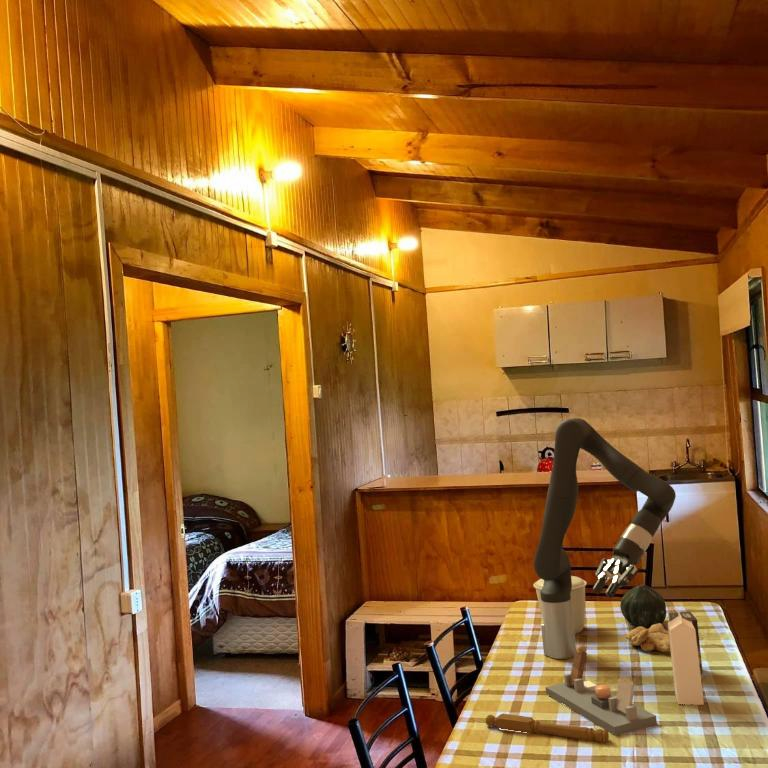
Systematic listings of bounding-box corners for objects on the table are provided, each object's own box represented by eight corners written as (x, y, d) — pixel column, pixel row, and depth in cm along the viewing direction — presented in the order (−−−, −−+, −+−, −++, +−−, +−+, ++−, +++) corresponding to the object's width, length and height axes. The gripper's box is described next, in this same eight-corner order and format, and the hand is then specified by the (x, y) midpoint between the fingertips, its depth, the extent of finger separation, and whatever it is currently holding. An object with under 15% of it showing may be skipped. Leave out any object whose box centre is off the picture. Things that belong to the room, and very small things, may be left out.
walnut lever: (575, 684, 199) (583, 644, 200) (582, 687, 196) (589, 647, 197) (567, 682, 198) (575, 642, 199) (573, 686, 195) (581, 645, 197)
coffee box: (704, 679, 199) (697, 619, 200) (679, 680, 201) (673, 620, 201) (697, 667, 208) (690, 610, 209) (673, 668, 210) (667, 611, 210)
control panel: (583, 685, 203) (581, 666, 204) (656, 724, 175) (654, 702, 175) (546, 694, 199) (544, 675, 199) (615, 735, 171) (612, 714, 171)
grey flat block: (618, 707, 180) (621, 678, 181) (631, 714, 175) (634, 684, 176) (615, 707, 180) (618, 678, 181) (628, 714, 175) (631, 684, 176)
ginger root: (625, 634, 239) (629, 611, 239) (677, 648, 232) (681, 624, 232) (618, 651, 225) (622, 626, 225) (673, 667, 218) (677, 641, 218)
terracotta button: (605, 691, 187) (604, 683, 187) (613, 696, 183) (612, 688, 184) (593, 694, 186) (592, 686, 186) (601, 699, 182) (600, 691, 182)
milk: (678, 705, 185) (668, 617, 186) (675, 695, 191) (665, 610, 192) (704, 705, 183) (693, 616, 184) (700, 695, 189) (690, 609, 190)
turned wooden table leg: (605, 732, 167) (483, 716, 182) (606, 746, 167) (484, 728, 182) (608, 727, 170) (487, 711, 185) (609, 740, 170) (489, 723, 185)
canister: (550, 621, 266) (544, 563, 267) (599, 626, 255) (592, 565, 256) (529, 636, 251) (523, 574, 252) (580, 641, 240) (573, 577, 241)
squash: (638, 599, 264) (621, 574, 258) (678, 606, 253) (662, 580, 246) (625, 633, 257) (607, 608, 250) (666, 642, 246) (649, 616, 239)
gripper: (608, 533, 212) (577, 581, 208) (640, 539, 199) (608, 591, 194) (625, 548, 214) (595, 597, 209) (658, 555, 200) (627, 607, 196)
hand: (601, 594), depth 202 cm, fingers open, 5 cm apart
